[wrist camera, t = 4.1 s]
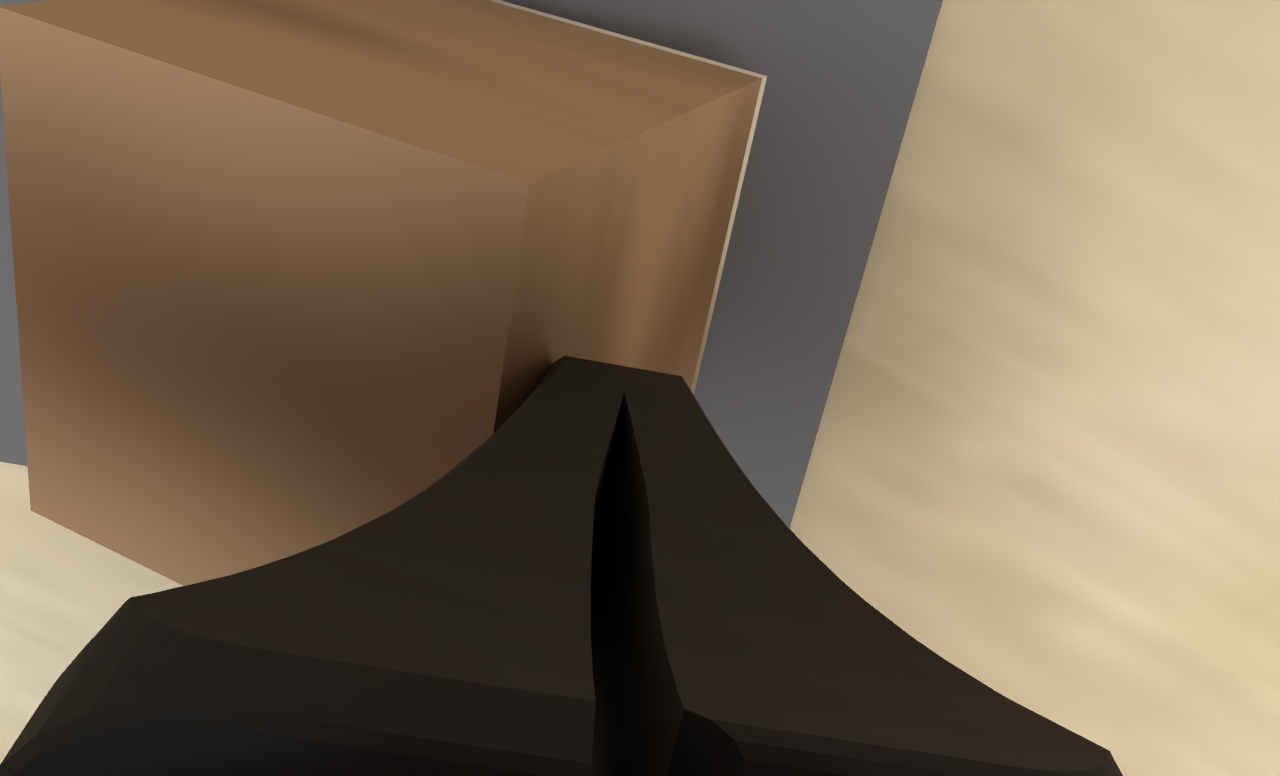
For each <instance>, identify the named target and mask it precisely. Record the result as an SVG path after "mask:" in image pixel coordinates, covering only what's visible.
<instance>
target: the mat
mask: <svg viewBox="0 0 1280 776" xmlns="http://www.w3.org/2000/svg"><path fill="white" fill-rule="evenodd" d="M35 1H44V0H0V5H8V4H17V3H26V2H35ZM501 1H505V2H508V3H512V4H515V5H519V6H522V7H526V8H529V9H533V10H536V11H540V12H543V13H547V14H551V15H554V16H558V17H561V18H565V19H568V20H572V21H575V22H579V23H582V24H586V25H589V26H593V27H596V28H600V29H603V30H607V31H610V32H614V33H617V34H621V35H624V36H628V37H631V38H635V39H639V40H642V41H646V42H649V43H653V44H656V45H660V46H663V47H667V48H670V49H674V50H677V51H681V52H684V53H688V54H691V55H695V56H698V57H702V58H705V59H709V60H712V61H716V62H720V63H723V64H727V65H730V66H734V67H737V68H741V69H744V70H748V71H751V72H755V73H758V74H762V75H765V76H767V80H766V84H765V88H764V93H763V97H762V101H761V106H760V110H759V114H758V119H757V123H756V127H755V132H754V136H753V140H752V145H751V149H750V153H749V158H748V162H747V166H746V171H745V175H744V179H743V184H742V188H741V192H740V197H739V201H738V205H737V210H736V214H735V218H734V223H733V227H732V231H731V236H730V240H729V244H728V249H727V253H726V257H725V262H724V266H723V270H722V275H721V279H720V283H719V288H718V292H717V296H716V301H715V305H714V309H713V314H712V318H711V322H710V327H709V331H708V336H707V340H706V344H705V349H704V353H703V357H702V362H701V366H700V370H699V375H698V379H697V383H696V388H695V392H694V396H695V398H696V399H697V401H698V403H699V405H700V406H701V408H702V410H703V411H704V413H705V415H706V416H707V418H708V420H709V421H710V423H711V424H712V426H713V428H714V429H715V431H716V432H717V434H718V436H719V437H720V439H721V440H722V442H723V443H724V445H725V446H726V448H727V449H728V451H729V452H730V454H731V455H732V457H733V458H734V460H735V461H736V462H737V464H738V465H739V467H740V468H741V470H742V471H743V472H744V474H745V475H746V477H747V478H748V479H749V481H750V482H751V483H752V485H753V486H754V487H755V489H756V490H757V491H758V492H759V494H760V495H761V496H762V497H763V498H764V500H765V501H766V502H767V503H768V504H769V506H770V507H771V508H772V509H773V510H774V511H775V513H776V514H777V515H778V516H779V517H780V519H781V520H782V521H783V522H784V523H785V525H786V526H787V527H788V528H789V527H790V524H791V521H792V517H793V514H794V510H795V507H796V503H797V500H798V496H799V493H800V490H801V486H802V483H803V479H804V476H805V472H806V469H807V465H808V462H809V459H810V455H811V452H812V448H813V445H814V441H815V438H816V434H817V431H818V428H819V424H820V421H821V417H822V414H823V410H824V407H825V403H826V400H827V397H828V393H829V390H830V386H831V383H832V379H833V376H834V373H835V369H836V366H837V362H838V359H839V355H840V352H841V348H842V345H843V342H844V338H845V335H846V331H847V328H848V324H849V321H850V317H851V314H852V311H853V307H854V304H855V300H856V297H857V293H858V290H859V286H860V283H861V280H862V276H863V273H864V269H865V266H866V262H867V259H868V255H869V252H870V249H871V245H872V242H873V238H874V235H875V231H876V228H877V224H878V221H879V218H880V214H881V211H882V207H883V204H884V200H885V197H886V194H887V190H888V187H889V183H890V180H891V176H892V173H893V169H894V166H895V163H896V159H897V156H898V152H899V149H900V145H901V142H902V138H903V135H904V132H905V128H906V125H907V121H908V118H909V114H910V111H911V107H912V104H913V101H914V97H915V94H916V90H917V87H918V83H919V80H920V76H921V73H922V70H923V66H924V63H925V59H926V56H927V52H928V49H929V45H930V42H931V39H932V35H933V32H934V28H935V25H936V21H937V18H938V15H939V11H940V8H941V4H942V1H943V0H501ZM0 462H6V463H12V464H19V465H25V466H28V461H27V447H26V433H25V419H24V405H23V390H22V376H21V362H20V348H19V334H18V319H17V305H16V291H15V277H14V263H13V249H12V234H11V220H10V206H9V192H8V178H7V163H6V149H5V135H4V121H3V107H2V92H1V78H0Z"/></svg>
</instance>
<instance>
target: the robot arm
mask: <svg viewBox="0 0 1280 776" xmlns="http://www.w3.org/2000/svg"><path fill="white" fill-rule="evenodd" d="M0 776H1123V775H1122V773H1121V771H1120V769H1119V768H1118V766H1117V764H1116V762H1115V761H1114V759H1113V757H1112V755H1111V753H1110V751H1109V750H1107V749H1105V748H1103V747H1101V746H1099V745H1097V744H1095V743H1093V742H1091V741H1089V740H1087V739H1085V738H1083V737H1082V736H1080V735H1078V734H1076V733H1074V732H1072V731H1070V730H1068V729H1066V728H1064V727H1062V726H1060V725H1058V724H1056V723H1054V722H1052V721H1050V720H1049V719H1047V718H1045V717H1043V716H1041V715H1039V714H1037V713H1035V712H1033V711H1031V710H1029V709H1027V708H1025V707H1023V706H1021V705H1019V704H1017V703H1016V702H1014V701H1012V700H1010V699H1008V698H1006V697H1005V696H1003V695H1001V694H999V693H998V692H996V691H994V690H993V689H991V688H990V687H988V686H986V685H985V684H983V683H981V682H980V681H978V680H977V679H975V678H973V677H972V676H970V675H969V674H967V673H965V672H964V671H962V670H961V669H959V668H957V667H956V666H954V665H953V664H951V663H949V662H948V661H946V660H945V659H943V658H942V657H940V656H939V655H937V654H936V653H934V652H933V651H932V650H930V649H929V648H927V647H926V646H924V645H923V644H921V643H920V642H918V641H917V640H916V639H914V638H913V637H911V636H910V635H909V634H907V633H906V632H905V631H903V630H902V629H901V628H900V627H898V626H897V625H896V624H894V623H893V622H892V621H890V620H889V619H888V618H887V617H885V616H884V615H883V614H881V613H880V612H879V611H878V610H876V609H875V608H874V607H872V606H871V605H870V604H869V603H867V602H866V601H865V600H864V599H862V598H861V597H860V596H859V595H858V594H857V593H855V592H854V591H853V590H852V589H851V588H850V587H848V586H847V585H846V584H845V583H844V582H843V581H842V580H840V579H839V578H838V577H837V576H836V575H835V574H834V573H833V572H832V571H831V570H830V569H829V568H828V567H827V566H826V565H825V564H824V563H823V562H822V561H821V560H820V559H819V558H818V557H816V556H815V555H814V554H813V553H812V552H811V551H810V550H809V549H808V548H807V547H806V546H805V545H804V544H803V543H802V542H801V541H800V540H799V539H798V538H797V536H796V535H795V534H794V533H793V532H792V531H791V530H790V529H789V528H788V527H787V526H786V525H785V523H784V522H783V521H782V520H781V519H780V517H779V516H778V515H777V514H776V513H775V511H774V510H773V509H772V508H771V507H770V506H769V504H768V503H767V502H766V501H765V500H764V498H763V497H762V496H761V495H760V494H759V492H758V491H757V490H756V489H755V487H754V486H753V485H752V483H751V482H750V481H749V479H748V478H747V477H746V475H745V474H744V472H743V471H742V470H741V468H740V467H739V465H738V464H737V462H736V461H735V460H734V458H733V457H732V455H731V454H730V452H729V451H728V449H727V448H726V446H725V445H724V443H723V442H722V440H721V439H720V437H719V436H718V434H717V432H716V431H715V429H714V428H713V426H712V424H711V423H710V421H709V420H708V418H707V416H706V415H705V413H704V411H703V410H702V408H701V406H700V405H699V403H698V401H697V399H696V398H695V396H694V394H693V393H692V391H691V390H690V388H689V386H688V385H687V383H686V382H685V380H684V379H683V377H682V376H678V375H673V374H667V373H661V372H655V371H650V370H644V369H638V368H632V367H627V366H621V365H615V364H610V363H604V362H598V361H592V360H587V359H581V358H575V357H569V356H563V357H562V358H560V359H558V360H557V361H555V362H554V363H552V364H551V366H550V369H549V370H548V372H547V374H546V375H545V377H544V378H543V379H542V381H541V382H540V384H539V385H538V386H537V387H536V389H535V390H534V391H533V392H532V393H531V395H530V396H529V397H528V398H527V399H526V400H525V402H524V403H523V404H522V405H521V406H520V407H519V408H518V409H517V410H516V411H515V412H514V413H513V414H512V415H511V416H510V417H509V418H508V419H507V420H506V422H505V423H504V424H503V425H502V426H501V427H500V428H499V429H498V430H497V431H496V432H495V433H494V434H493V435H492V436H490V437H489V438H488V439H487V440H486V441H485V442H484V443H483V444H481V445H480V446H479V447H478V448H477V449H475V450H474V451H473V452H472V453H471V454H470V455H468V456H467V457H466V458H465V459H464V460H462V461H461V462H460V463H459V464H458V465H457V466H455V467H454V468H453V469H452V470H450V471H449V472H448V473H447V474H445V475H444V476H443V477H441V478H440V479H438V480H437V481H436V482H434V483H433V484H432V485H430V486H429V487H427V488H426V489H424V490H423V491H422V492H420V493H419V494H417V495H415V496H414V497H412V498H411V499H409V500H408V501H406V502H404V503H403V504H401V505H400V506H398V507H397V508H395V509H393V510H392V511H390V512H388V513H386V514H384V515H382V516H380V517H378V518H376V519H374V520H372V521H370V522H368V523H366V524H364V525H362V526H360V527H358V528H356V529H354V530H351V531H349V532H347V533H345V534H343V535H341V536H339V537H337V538H335V539H333V540H330V541H328V542H326V543H323V544H321V545H318V546H315V547H313V548H310V549H308V550H305V551H302V552H300V553H297V554H295V555H292V556H289V557H286V558H283V559H280V560H277V561H274V562H271V563H268V564H265V565H262V566H259V567H256V568H253V569H249V570H246V571H243V572H239V573H236V574H232V575H229V576H225V577H220V578H216V579H212V580H208V581H203V582H199V583H195V584H191V585H186V586H182V587H178V588H174V589H169V590H165V591H161V592H157V593H152V594H147V595H142V596H136V597H131V598H130V599H128V600H127V601H126V602H125V603H124V604H123V605H122V606H121V607H120V608H119V610H118V611H117V612H116V613H115V614H114V615H113V616H112V618H111V619H110V620H109V621H108V622H107V623H106V624H105V626H104V627H103V628H102V629H101V630H100V631H99V632H98V634H97V635H96V636H95V637H94V638H93V639H92V640H91V641H90V642H89V643H88V644H87V645H86V646H85V647H84V649H83V650H82V651H81V652H80V653H79V654H78V656H77V657H76V658H75V659H74V660H73V661H72V663H71V664H70V665H69V666H68V667H67V669H66V670H65V671H64V672H63V673H62V674H61V676H60V677H59V678H58V680H57V681H56V682H55V683H54V685H53V686H52V688H51V689H50V691H49V692H48V694H47V695H46V696H45V698H44V699H43V701H42V702H41V704H40V705H39V707H38V708H37V710H36V711H35V713H34V714H33V716H32V717H31V719H30V720H29V722H28V723H27V725H26V726H25V728H24V729H23V731H22V732H21V734H20V735H19V737H18V738H17V740H16V741H15V743H14V745H13V746H12V748H11V749H10V751H9V752H8V754H7V755H6V757H5V758H4V760H3V761H2V763H1V764H0Z"/></svg>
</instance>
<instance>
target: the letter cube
mask: <svg viewBox="0 0 1280 776" xmlns="http://www.w3.org/2000/svg"><path fill="white" fill-rule="evenodd" d="M0 78H1V92H2V107H3V121H4V135H5V149H6V163H7V178H8V192H9V206H10V220H11V234H12V249H13V263H14V277H15V291H16V305H17V319H18V334H19V348H20V362H21V376H22V390H23V405H24V419H25V433H26V447H27V461H28V475H29V490H30V504H31V511H33V512H35V513H37V514H39V515H42V516H44V517H46V518H48V519H50V520H52V521H54V522H56V523H58V524H60V525H62V526H64V527H66V528H68V529H70V530H72V531H74V532H76V533H78V534H80V535H82V536H84V537H86V538H88V539H90V540H92V541H94V542H96V543H98V544H100V545H102V546H104V547H106V548H108V549H110V550H113V551H115V552H117V553H119V554H121V555H123V556H125V557H127V558H129V559H131V560H133V561H135V562H137V563H139V564H141V565H143V566H145V567H147V568H149V569H151V570H153V571H155V572H157V573H159V574H161V575H163V576H165V577H167V578H169V579H171V580H173V581H175V582H177V583H179V584H181V585H184V586H186V585H191V584H195V583H199V582H203V581H208V580H212V579H216V578H220V577H225V576H229V575H232V574H236V573H239V572H243V571H246V570H249V569H253V568H256V567H259V566H262V565H265V564H268V563H271V562H274V561H277V560H280V559H283V558H286V557H289V556H292V555H295V554H297V553H300V552H302V551H305V550H308V549H310V548H313V547H315V546H318V545H321V544H323V543H326V542H328V541H330V540H333V539H335V538H337V537H339V536H341V535H343V534H345V533H347V532H349V531H351V530H354V529H356V528H358V527H360V526H362V525H364V524H366V523H368V522H370V521H372V520H374V519H376V518H378V517H380V516H382V515H384V514H386V513H388V512H390V511H392V510H393V509H395V508H397V507H398V506H400V505H401V504H403V503H404V502H406V501H408V500H409V499H411V498H412V497H414V496H415V495H417V494H419V493H420V492H422V491H423V490H424V489H426V488H427V487H429V486H430V485H432V484H433V483H434V482H436V481H437V480H438V479H440V478H441V477H443V476H444V475H445V474H447V473H448V472H449V471H450V470H452V469H453V468H454V467H455V466H457V465H458V464H459V463H460V462H461V461H462V460H464V459H465V458H466V457H467V456H468V455H470V454H471V453H472V452H473V451H474V450H475V449H477V448H478V447H479V446H480V445H481V444H483V443H484V442H485V441H486V440H487V439H488V438H489V437H490V436H492V435H493V434H494V433H495V432H496V431H497V430H498V429H499V428H500V427H501V426H502V425H503V424H504V423H505V422H506V420H507V419H508V418H509V417H510V416H511V415H512V414H513V413H514V412H515V411H516V410H517V409H518V408H519V407H520V406H521V405H522V404H523V403H524V402H525V400H526V399H527V398H528V397H529V396H530V395H531V393H532V392H533V391H534V390H535V389H536V387H537V386H538V385H539V384H540V382H541V381H542V379H543V378H544V377H545V375H546V374H547V372H548V370H549V369H550V366H551V364H552V363H554V362H555V361H557V360H558V359H560V358H562V357H563V356H569V357H575V358H581V359H587V360H592V361H598V362H604V363H610V364H615V365H621V366H627V367H632V368H638V369H644V370H650V371H655V372H661V373H667V374H673V375H678V376H682V377H683V379H684V380H685V382H686V383H687V385H688V386H689V388H690V390H691V391H692V393H693V394H694V392H695V388H696V383H697V379H698V375H699V370H700V366H701V362H702V357H703V353H704V349H705V344H706V340H707V336H708V331H709V327H710V322H711V318H712V314H713V309H714V305H715V301H716V296H717V292H718V288H719V283H720V279H721V275H722V270H723V266H724V262H725V257H726V253H727V249H728V244H729V240H730V236H731V231H732V227H733V223H734V218H735V214H736V210H737V205H738V201H739V197H740V192H741V188H742V184H743V179H744V175H745V171H746V166H747V162H748V158H749V153H750V149H751V145H752V140H753V136H754V132H755V127H756V123H757V119H758V114H759V110H760V106H761V101H762V97H763V93H764V88H765V84H766V80H767V76H765V75H762V74H758V73H755V72H751V71H748V70H744V69H741V68H737V67H734V66H730V65H727V64H723V63H720V62H716V61H712V60H709V59H705V58H702V57H698V56H695V55H691V54H688V53H684V52H681V51H677V50H674V49H670V48H667V47H663V46H660V45H656V44H653V43H649V42H646V41H642V40H639V39H635V38H631V37H628V36H624V35H621V34H617V33H614V32H610V31H607V30H603V29H600V28H596V27H593V26H589V25H586V24H582V23H579V22H575V21H572V20H568V19H565V18H561V17H558V16H554V15H551V14H547V13H543V12H540V11H536V10H533V9H529V8H526V7H522V6H519V5H515V4H512V3H508V2H505V1H501V0H44V1H35V2H26V3H17V4H8V5H0Z"/></svg>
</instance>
